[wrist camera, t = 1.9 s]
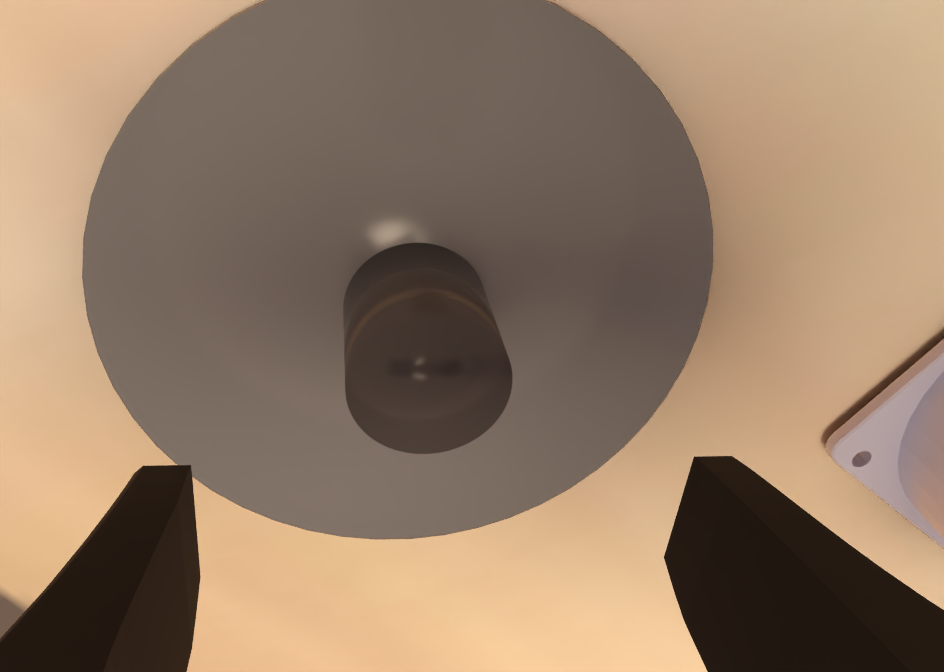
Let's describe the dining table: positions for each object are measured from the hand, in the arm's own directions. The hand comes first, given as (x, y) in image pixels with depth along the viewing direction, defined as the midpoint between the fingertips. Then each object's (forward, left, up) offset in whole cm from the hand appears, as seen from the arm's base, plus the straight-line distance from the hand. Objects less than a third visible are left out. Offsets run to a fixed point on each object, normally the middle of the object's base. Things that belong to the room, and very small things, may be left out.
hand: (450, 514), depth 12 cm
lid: (0, 0, -7) cm, 7 cm away
